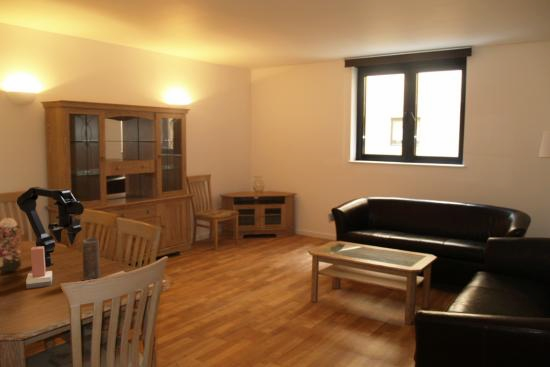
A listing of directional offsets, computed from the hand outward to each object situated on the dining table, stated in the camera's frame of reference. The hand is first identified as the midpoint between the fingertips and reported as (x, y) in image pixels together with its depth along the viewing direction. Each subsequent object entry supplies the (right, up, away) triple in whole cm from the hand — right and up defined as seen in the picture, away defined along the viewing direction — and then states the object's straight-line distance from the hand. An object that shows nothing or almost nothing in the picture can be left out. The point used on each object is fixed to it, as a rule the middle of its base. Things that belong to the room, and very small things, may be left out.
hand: (65, 243), depth 231 cm
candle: (+21, -15, -18) cm, 31 cm away
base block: (-2, -16, -22) cm, 27 cm away
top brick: (-2, -12, -23) cm, 25 cm away
